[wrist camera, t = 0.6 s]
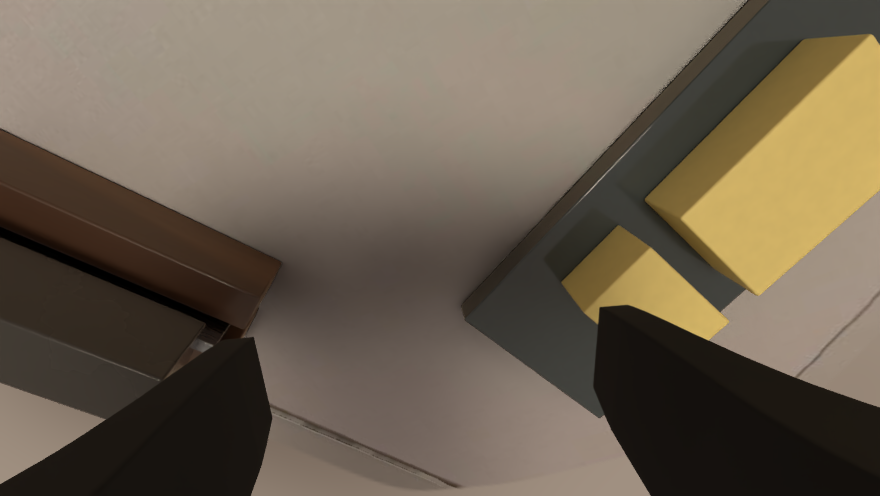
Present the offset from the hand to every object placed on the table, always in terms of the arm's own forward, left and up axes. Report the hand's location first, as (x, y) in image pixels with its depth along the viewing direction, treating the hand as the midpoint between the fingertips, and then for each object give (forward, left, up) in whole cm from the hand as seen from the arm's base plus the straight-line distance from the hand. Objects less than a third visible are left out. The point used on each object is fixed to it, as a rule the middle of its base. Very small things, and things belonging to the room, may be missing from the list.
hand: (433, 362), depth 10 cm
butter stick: (+6, -11, -7) cm, 14 cm away
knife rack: (-3, +10, -8) cm, 13 cm away
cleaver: (-3, +10, -8) cm, 13 cm away
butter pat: (0, -8, -7) cm, 11 cm away
